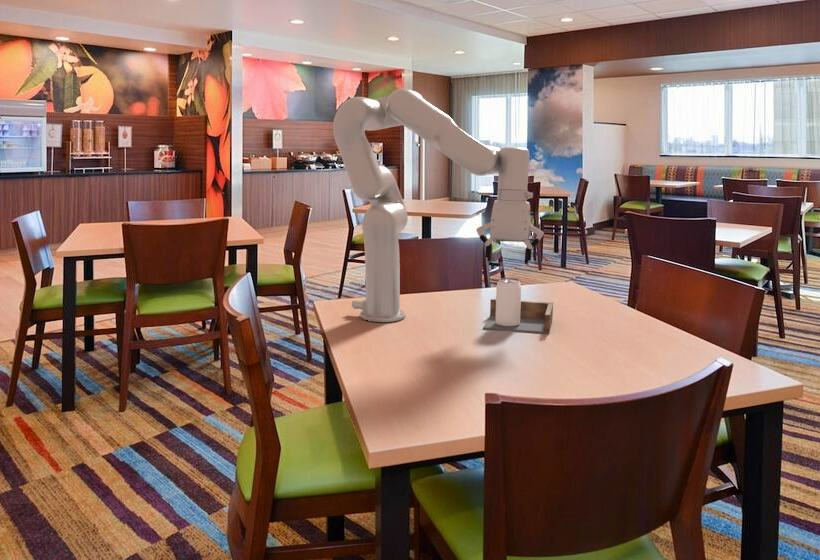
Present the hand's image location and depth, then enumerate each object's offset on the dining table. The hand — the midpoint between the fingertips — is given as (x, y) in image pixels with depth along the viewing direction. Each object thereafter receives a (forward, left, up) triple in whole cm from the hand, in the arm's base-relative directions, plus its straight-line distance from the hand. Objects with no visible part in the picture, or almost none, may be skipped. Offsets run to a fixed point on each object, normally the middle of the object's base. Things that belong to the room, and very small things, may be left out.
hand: (507, 261), depth 175 cm
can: (0, 0, -17) cm, 17 cm away
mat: (+3, +2, -17) cm, 18 cm away
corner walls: (+3, +2, -17) cm, 18 cm away
